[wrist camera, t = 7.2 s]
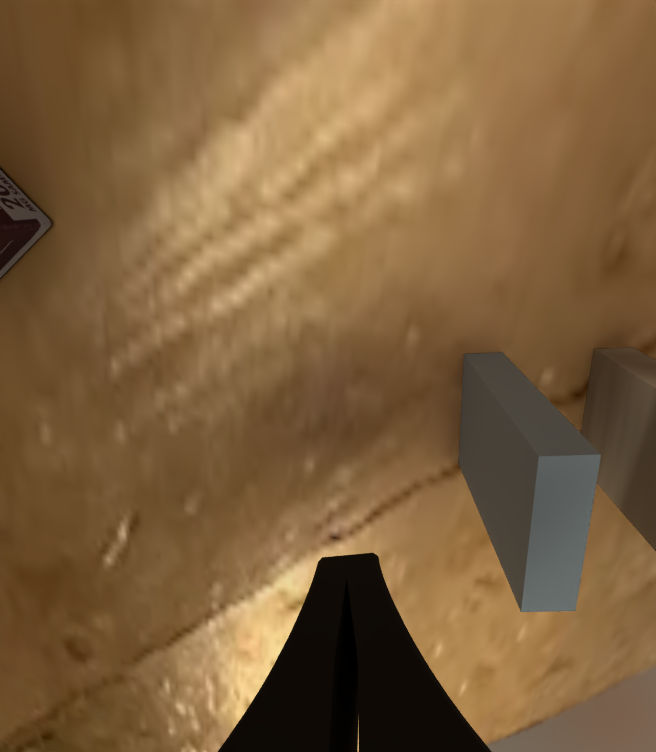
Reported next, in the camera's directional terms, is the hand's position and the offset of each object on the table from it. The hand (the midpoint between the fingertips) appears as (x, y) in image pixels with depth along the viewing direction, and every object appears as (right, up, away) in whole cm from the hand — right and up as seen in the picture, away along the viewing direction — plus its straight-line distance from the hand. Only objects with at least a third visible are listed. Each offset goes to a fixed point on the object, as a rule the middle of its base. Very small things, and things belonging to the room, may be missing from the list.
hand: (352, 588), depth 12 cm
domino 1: (+6, +4, +9) cm, 11 cm away
